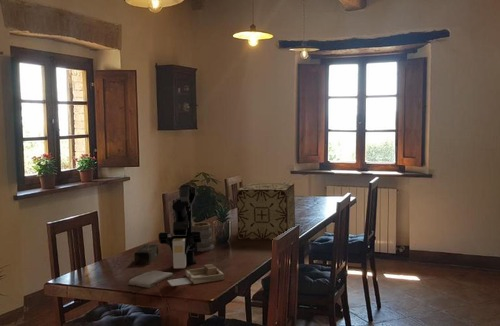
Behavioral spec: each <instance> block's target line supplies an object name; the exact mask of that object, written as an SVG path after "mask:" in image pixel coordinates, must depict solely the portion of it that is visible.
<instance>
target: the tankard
mask: <svg viewBox="0 0 500 326" xmlns="http://www.w3.org/2000/svg"><path fill="white" fill-rule="evenodd" d="M192 231H200V232H201V242H200V243H197V247H198V251H196V253H197V252H199V253H200V252H201V253H202V252H207V251H208V252H209V251H212V250H213V249H214V248H215V245H214V244H213V243H212V242H213V236H212V233H213V228H212V227H211V223H209V222H204V221H203V222H195V221H194V220H193V219H192ZM193 249H194V248H193Z"/></svg>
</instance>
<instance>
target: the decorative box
mask: <svg viewBox="0 0 500 326" xmlns="http://www.w3.org/2000/svg"><path fill="white" fill-rule="evenodd" d="M295 205H296V204H295V183H291V182H290V183H284V182H283V183H278V182H277V183H275V182H274V183H267V182H266V183H261V182H260V183H259V182H257V183H256V182H255V183H253V182H252V183H251V182H250V183H247V184H245V185H243V186H241V187H239V188H236V212H237V214H236V215H237V239H238V240H255V239H268V240H267V241H273V240H272V239H273V238H275V237H277V236H278V235H280V234H282V233H284V232H285V231H287V230H288V229H290V228H292V227H295V228H296V214H295V213H296V210H295V209H296V207H295Z"/></svg>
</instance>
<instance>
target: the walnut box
mask: <svg viewBox="0 0 500 326" xmlns="http://www.w3.org/2000/svg"><path fill="white" fill-rule="evenodd" d="M203 268H204V274H205V275H206V276H210V275H217V269H218V267H217V266H215V265H214V264H213V263H211V264H210V263H209V264H204V265H203Z"/></svg>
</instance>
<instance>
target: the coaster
mask: <svg viewBox="0 0 500 326" xmlns="http://www.w3.org/2000/svg"><path fill="white" fill-rule="evenodd" d="M167 282H168V284H169V285H170V286H171V287H175V286H183V285H188V284H189V285H190V284H192V281H191V280H190V279H189V278H188V277H181V278H176V279H175V278H174V279H168V280H167Z"/></svg>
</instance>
